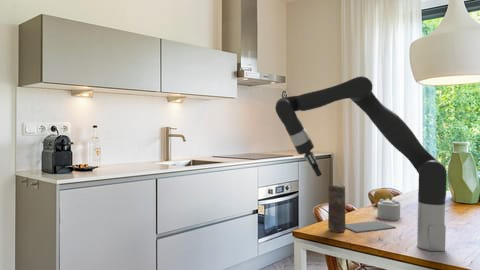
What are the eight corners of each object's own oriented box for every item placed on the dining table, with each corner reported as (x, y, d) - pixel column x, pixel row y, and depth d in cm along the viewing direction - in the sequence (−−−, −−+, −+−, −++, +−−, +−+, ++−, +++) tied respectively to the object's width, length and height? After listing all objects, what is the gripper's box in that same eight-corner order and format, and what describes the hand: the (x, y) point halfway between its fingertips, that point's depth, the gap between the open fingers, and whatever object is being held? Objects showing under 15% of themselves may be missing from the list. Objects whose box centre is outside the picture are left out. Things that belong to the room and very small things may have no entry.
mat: (356, 232, 164) (356, 231, 164) (339, 225, 175) (339, 224, 175) (395, 228, 173) (395, 226, 173) (376, 221, 184) (376, 220, 184)
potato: (371, 206, 219) (371, 189, 219) (374, 202, 230) (375, 186, 230) (390, 208, 214) (390, 190, 214) (393, 204, 225) (393, 187, 225)
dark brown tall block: (324, 229, 170) (325, 184, 169) (338, 227, 172) (339, 183, 172) (334, 233, 163) (335, 187, 162) (348, 232, 165) (349, 186, 165)
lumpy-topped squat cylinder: (375, 217, 192) (376, 200, 192) (381, 213, 203) (381, 196, 203) (397, 220, 187) (398, 203, 186) (402, 215, 198) (402, 198, 197)
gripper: (312, 140, 156) (330, 175, 158) (306, 133, 169) (324, 167, 171) (295, 148, 156) (314, 184, 159) (291, 141, 169) (309, 174, 172)
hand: (319, 175), depth 165 cm, fingers closed
